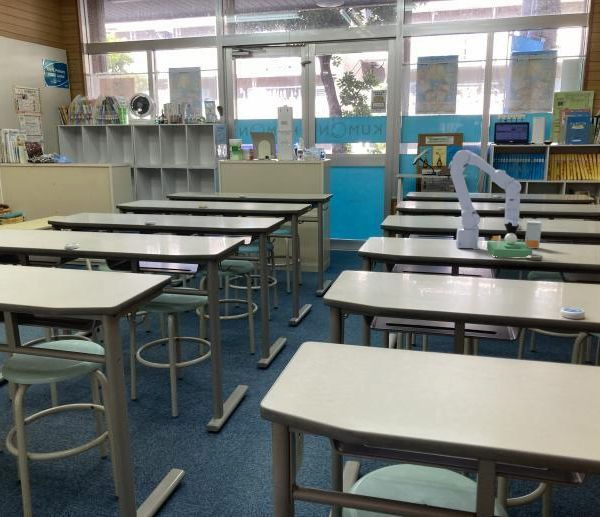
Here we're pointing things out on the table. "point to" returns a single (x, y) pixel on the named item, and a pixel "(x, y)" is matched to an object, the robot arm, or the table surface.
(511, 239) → the ball
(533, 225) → the skincare box
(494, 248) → the green
